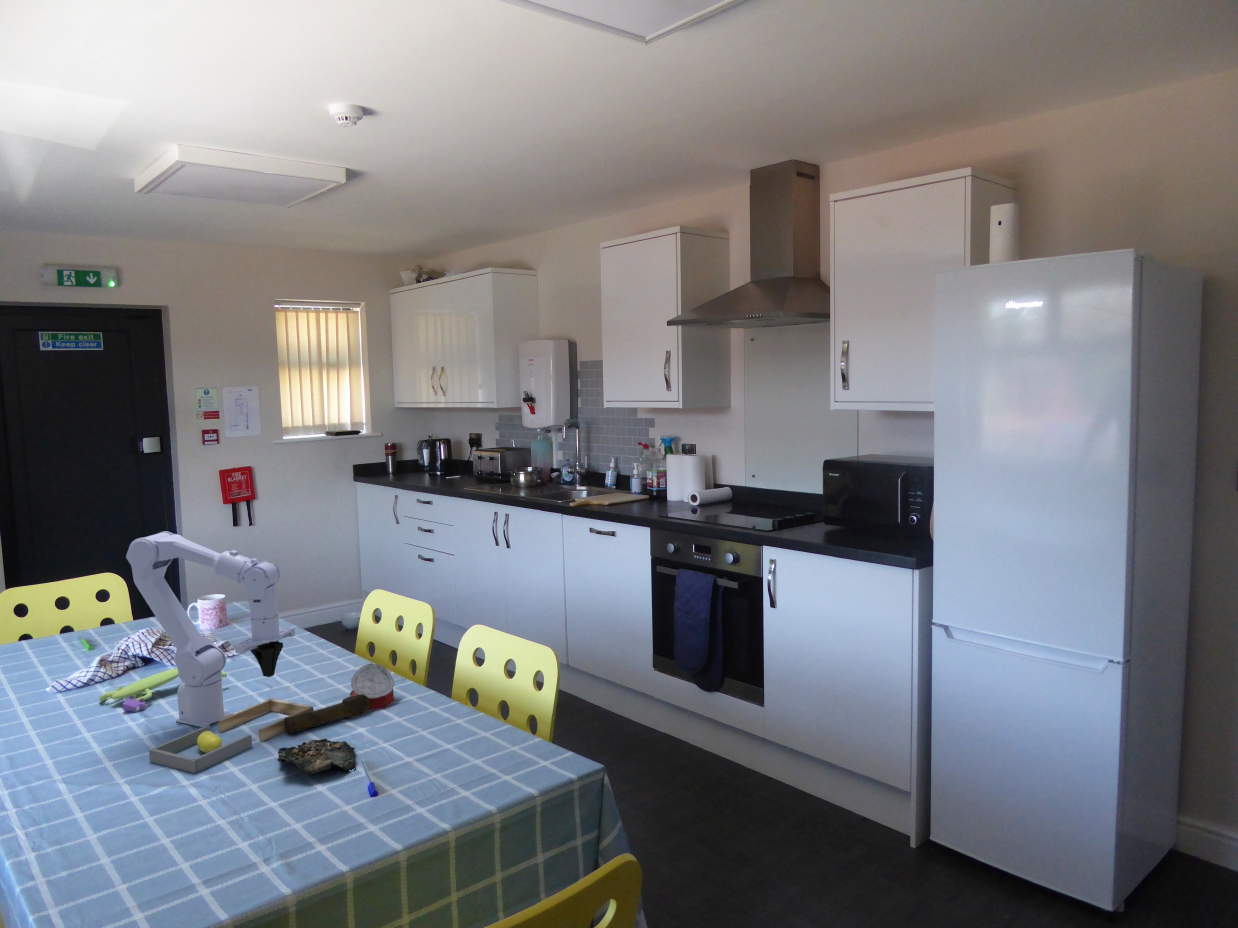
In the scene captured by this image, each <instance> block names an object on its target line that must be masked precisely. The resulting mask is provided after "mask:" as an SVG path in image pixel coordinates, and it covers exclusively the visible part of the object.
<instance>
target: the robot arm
mask: <svg viewBox="0 0 1238 928" xmlns="http://www.w3.org/2000/svg"><path fill="white" fill-rule="evenodd" d="M125 558H126V560H127V561H128V563H129V565H130V566H131V571H132V578H133V583H134V584H135V586H136V587H137V588H136V589H138V591H139V592H140V594H141V596H142V598H143V599H144V600H145V602H146V604H147V605H148V607H149V608H150V610H151V611H152V613H153V615H154V616H155V618H156V619H157V621H158V622H159V624H160V625H161V627H162V629H163V630H164V632H165V633H166V635H167V637H168V638H169V639H170V642H171V643H172V644H173V646H174V647H175V649H176V651H175V654H174V657H173V663H174V664H175V666H176V667H177V668H178V675H179V677H178V678H179V679H180V680H181V683H180V685H179V687H178V689H177V694H176V695H177V696H176V697H177V706H178V709H177V710H178V718H175V722H177V723H183V724H185V725H191V726H195V727H199V728H202V727H204V726H207V725H208V726H210V725H212V724H215V723H218V721H219V720H221V719H224V718H226V717H228V716H231V715H233V714H234V713H233V712H231V711H226V710H225V706H224V693H223V679H222V677H221V675H222V673H223V672H222V670H223V669H224V668H225V667H226V664H227V656H226V654H225V651H224V650H222V648H221V647H218V646H217V645H216V644H214V642H213V640H212V639H210V638H209V637H205V636H203V635H201V634H200V632H199V631H198V629H197V627H196V626H195V624H194V622H193V621H192V620H191V618H190V617H189V615H188V613H187V611H185V609H184V607H183V606H182V604H181V602H180V600H179V599H178V598H177V596H176V595H175V593H174V592H173V589H171V587H170V585H169V584H168V582H167V580H166V579H165V574H166V572H167V570H168V569H167V568H168V567H169V565H170V564H171V563H172V561H173V559H178V558H179V559H183V560H186V561H190V562H194V563H197V564H199V565H204V566H206V567H209V568H213V571H214V574H216V576H220V577H222V578H225V579H226V580H230V581H233V582H235V583H238V584H239V583H240V584H242V585H243V588H245V590H246V591H247V593H248V594H247V595H248V600H249V602H248V603H249V613H250V614H249V616H250V629H251V636H250V637H248V638H247V639H245V640H243V641H241V642H239V643H236V644H234V646H235V654H239V655H244V654H246V652H249V651H250V652H251V654H252V655H253V656H254V658H255V660H256V661H257V663H258V665H259V668H260V670H261V673H262V676H263V677H266V678H271V677H274V676H275V672H276V667H277V663H278V661H279V656H280V653H281V652H282V650H283V648H284V643H283V642H282V641H281V640H283V639H287V638H293V637H295V636H296V630H295V629H296V628H295V627H291V626H287V627H283V628H280V621H279V608H278V606H279V605H278V595H277V593H278V592H277V584H276V583H278V581H279V580H280V578H281V577H280V576H281V573H280V568H279V567H278V566H277V564H275V563H273V562H272V561H270V560H263V561H258V558H255V557H253V558H250V557H247V556H244V555H241V554H239V551H238V550H235V549H233V550H225V551H224V552H223V551H222V552H221V553H219V552H218V551H214V550H213V549H211V548H208V547H205V546H204V545H201V544H198V543H196V542H194V541H191V540H189V539H186V538H184V537H183V536H182V535H181V534H177V533H173V532H170V531H166V530H165V531H160V532H158V533H155V534H151V535H148V536H144V537H139V538H136V539H134V540H132V542H131V543H130V544H129V547H128V550H127V552H126V556H125ZM280 641H281V642H280ZM177 668H176V669H177Z"/></svg>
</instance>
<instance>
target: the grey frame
mask: <svg viewBox="0 0 1238 928" xmlns="http://www.w3.org/2000/svg"><path fill="white" fill-rule="evenodd" d="M205 731H210V732H211V726H210V725H207V726H204V727H199V728H198V729H196V730H193V731H191V732H189V733H185V734H183V735H181V736H179V737H175V738H173V739H171V740H169V741H167V742H165V743H162V744H160V745H156V746H154V747H153V748H150V749H148V756H149V762H150V763H153V764H157V765H161V766H165V767H167V768H172V769H176V770H180V771H183V772H188V773H190V774H197V773H199V772H202V771H203V770H205V769H209V767H212V766H214V765H216V764H218V763H220V762H223V761H224V760H227V759H229V758H231V757H234V756H235V755H237V754H239V753H241V752H244V751H246V750H248V749H250V748H252V747H253V743H252V742H253V740H252V734H245V735H244V736H242V737H239V738H237V739H235V740H233V741H230V742H229V743H226V744H225V745H221V747H220V748H217V749H215V750H213V751H211V752H208V753H204V754H202V755H200V756H198V757H197V756H196V757H195V758H194V757H189V756H185V755H183V754H182V755H181V754H177V753H178V752H180V751H182V750H184V749H186V748H188V747H189V748H190V747H192V746H194V745H196V744H197V739H198V737H199V735H200V734H201V733H203V732H205Z"/></svg>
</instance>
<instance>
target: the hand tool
mask: <svg viewBox="0 0 1238 928" xmlns="http://www.w3.org/2000/svg"><path fill="white" fill-rule="evenodd" d="M369 711H372V710H371V703H370V701H369V699H368V697H367V696H366V695H364V694H359V695H356V696H351V697H350V696H347V697H345V698H343V699H342V702H340V703H337V704H334V705H330V706H327V707H323V708H320V709H316V710H314V711H313V712H307V713H304V714H300V715H297V716H293V717H288V716H285V717H284V718H283V719H284V725H285V731H284V732H285V734H287V736H289V737H290V736H292V735H293V734H299V733H300V732H302V731H305V730H308V729H312V728H314V727H318V726H322V725H324V724H328V723H331V722H334V721H337V720H340V719H346V720H349V719H350V720H351V719H354V718H356V717H357V718H358V717H360V716H363V715H364V714H365V713H368V712H369Z"/></svg>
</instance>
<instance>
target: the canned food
mask: <svg viewBox="0 0 1238 928" xmlns="http://www.w3.org/2000/svg"><path fill="white" fill-rule="evenodd" d="M350 687H351V689H352V690H351V691H350V693H349V697H351V696H356V695H359V694H364V695H366V696H367V697H368V699H369V701H370V703H371V710H370V711H376V709H377V710H380V708H381V709H383V707H384V708H386V706H387V707H389V706H391V705H392V704H393V703H394V701H395V697H394V687H395V679H394V678H393V675H392V674H391V673H390V672H389V671H388V669H387V668H386V667H385V666H383V665H381V664H380V663H373V662H371V663H367V664H365V665H362V666H361V667H359V669H357V670H355V672H354V674H353V675H352V677H351V682H350ZM392 702H393V703H392ZM391 703H392V704H391ZM388 705H389V706H388Z"/></svg>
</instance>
